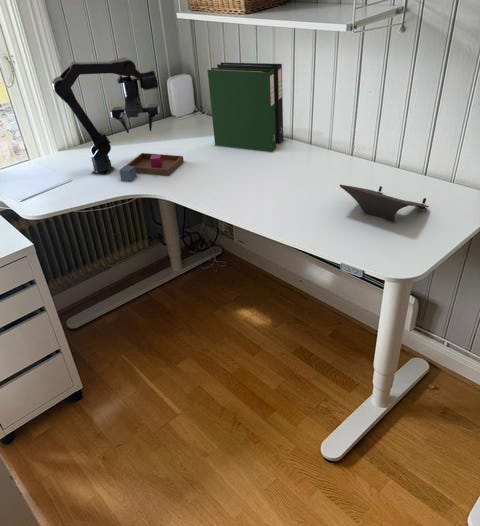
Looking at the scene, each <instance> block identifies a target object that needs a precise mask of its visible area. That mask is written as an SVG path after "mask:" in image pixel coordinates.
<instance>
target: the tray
mask: <svg viewBox="0 0 480 526" xmlns="http://www.w3.org/2000/svg"><path fill="white" fill-rule="evenodd" d="M151 155H160V153H148V152H147V153H146V152H141V153H140V154H138V155H137V156H136V157H135V158H134V159H132V160H131V161H129V163H127V164H126V166H135V169H136V174H144V175H154V176H155V175H156V176H164V177H165V176H166V177H169V176H171V174H173V172H175V171H176V170H177V169H178V168H179V167H180V166H181V165H182V164H183V163H184V162H185V161H184V156H183V155H175V154H162V153H161V157H162V163H163V164H162V167H160V168H152V167H151V162H150V158H151Z"/></svg>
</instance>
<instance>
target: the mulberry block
mask: <svg viewBox="0 0 480 526" xmlns="http://www.w3.org/2000/svg"><path fill="white" fill-rule="evenodd" d="M159 154H160V153H159ZM161 154H162V153H161ZM161 154H160V155H151V158H150V162H151V167H152V168H160V167H162V164H163V163H162V157H161Z"/></svg>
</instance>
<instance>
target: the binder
mask: <svg viewBox="0 0 480 526" xmlns="http://www.w3.org/2000/svg"><path fill="white" fill-rule="evenodd" d="M206 72H207V79H208V88H209V89H208V91H209V98H210V109H211V118H212V119H211V120H212V129H213V135H214V136H213V139H214V146H216V147H225V148H233V149H243V150H251V151H260V152H267V153H268V152H269V153H270V152H271V153H272V152H274V150H276V148H277V145H280V144H281V143H282V142H283V141H284V108H283V107H284V102H283V99H284V98H283V63H268V62H267V63H261V62H259V63H258V62H220V64H219V63H218V64H216V67H211V68H210V69H207V71H206Z"/></svg>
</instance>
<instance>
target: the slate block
mask: <svg viewBox="0 0 480 526" xmlns="http://www.w3.org/2000/svg"><path fill="white" fill-rule="evenodd" d="M126 165H127V164H126ZM126 165H124V166H122V167H121V168H120V169H118V171H119V176H120V180H121V181H122V182H133V181H134V180H136V179H137V177H138V175H137V174H138V173H136V169H135V166H126Z"/></svg>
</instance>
